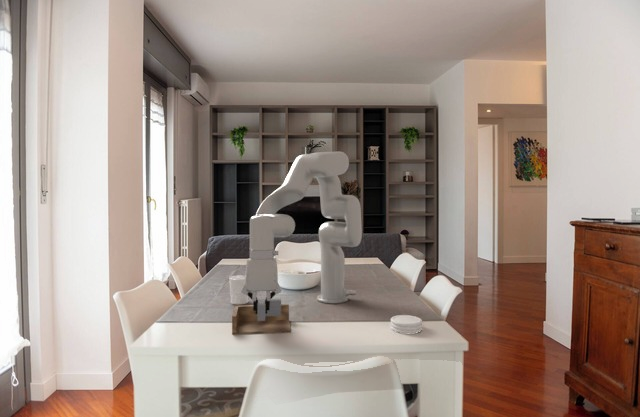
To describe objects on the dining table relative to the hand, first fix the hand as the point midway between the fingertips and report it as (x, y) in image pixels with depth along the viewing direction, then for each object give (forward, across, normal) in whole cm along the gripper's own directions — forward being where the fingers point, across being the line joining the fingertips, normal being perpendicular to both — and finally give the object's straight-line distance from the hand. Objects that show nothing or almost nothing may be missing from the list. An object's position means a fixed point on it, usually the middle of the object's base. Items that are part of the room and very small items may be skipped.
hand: (261, 312), depth 134 cm
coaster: (+6, -46, +4) cm, 47 cm away
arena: (+6, 0, -3) cm, 7 cm away
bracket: (+2, -3, 0) cm, 3 cm away
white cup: (+6, +9, -34) cm, 36 cm away
